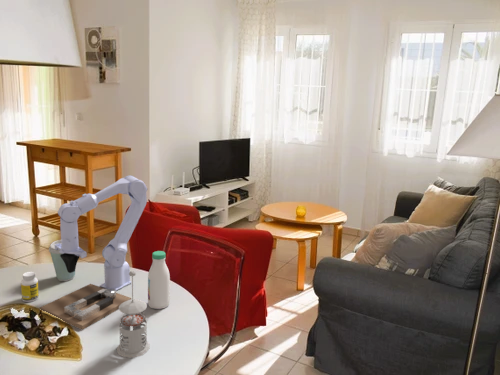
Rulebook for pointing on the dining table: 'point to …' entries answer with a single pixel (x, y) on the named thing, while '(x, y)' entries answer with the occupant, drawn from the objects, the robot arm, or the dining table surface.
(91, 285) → the cutting board
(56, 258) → the disposable coffee cup
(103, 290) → the tongs arm
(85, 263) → the dining table surface
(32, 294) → the supplement bottle
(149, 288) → the milk bottle
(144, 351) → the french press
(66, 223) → the robot arm
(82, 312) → the tongs fixed arm
